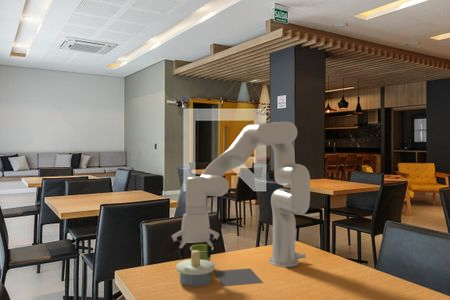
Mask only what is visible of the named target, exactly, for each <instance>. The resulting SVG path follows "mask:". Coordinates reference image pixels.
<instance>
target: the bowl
mask: <svg viewBox="0 0 450 300" xmlns="http://www.w3.org/2000/svg"><path fill="white" fill-rule="evenodd" d="M211 281H212V272H210V273H207V274H202V275H187V274H182V273H180V272H179V282H180V284H181V285H184V286H187V287H202V286H205V285H208V284H209V283H210V282H211Z"/></svg>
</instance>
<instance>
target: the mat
mask: <svg viewBox="0 0 450 300" xmlns="http://www.w3.org/2000/svg"><path fill="white" fill-rule="evenodd" d="M213 273H214V274H215V276H216V278H217V279H218V281H219V282H220V284H221V286H222V287H231V286H232V287H233V286H242V285H253V284H254V285H255V284H263V283H264V282H263V280H261V278H260V277H259V276H258V275H257V274H256V273H255V272H254V271H253V269H251V268H236V269H224V270H214V271H213Z"/></svg>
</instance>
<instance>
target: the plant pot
mask: <svg viewBox="0 0 450 300" xmlns="http://www.w3.org/2000/svg"><path fill="white" fill-rule="evenodd" d="M207 245H208V244H203V243H201V244H193V245H191V246H190V247H189V250H190V251H194V250H198V251H200V259H203V260H208V261H211V256H212V254H211V255H210V258H209V257H208V256H207ZM212 251H214V246H212Z"/></svg>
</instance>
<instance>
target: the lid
mask: <svg viewBox="0 0 450 300" xmlns="http://www.w3.org/2000/svg"><path fill="white" fill-rule="evenodd" d="M190 251H191V250H190ZM190 255H191V256H190V258H191V259H186V260H182V261H179V262H177V263H176V265H175V267H176V268H175V269H176V272H178V273H179V274H180V273H182V274H187V275H202V274H207V273H210V272H211V273H212V272H214V271H215V268H216V265H215V263H214V262H212V261H211V260H210V261H208V260H203V259H200V251H198V250H194V251H191V254H190Z"/></svg>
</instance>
